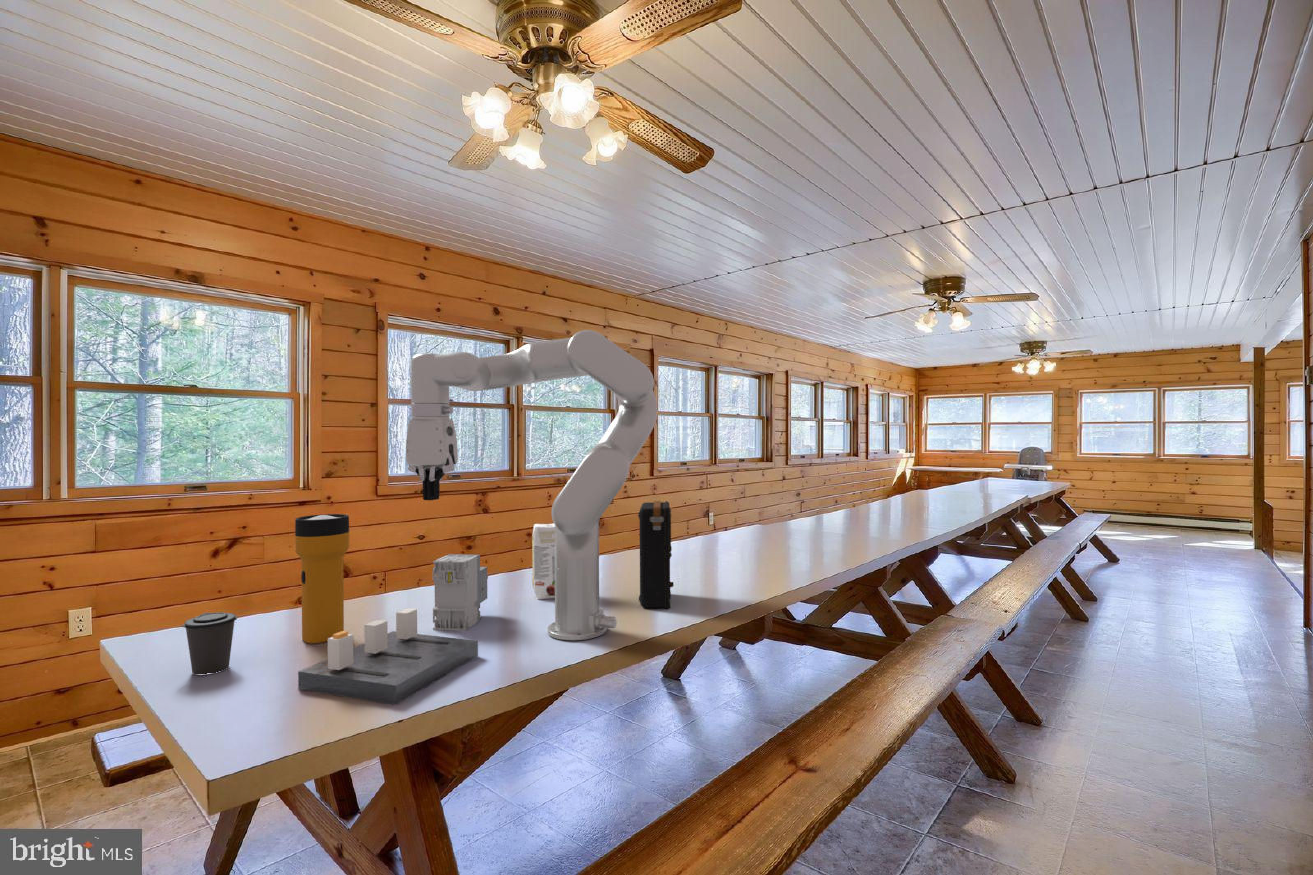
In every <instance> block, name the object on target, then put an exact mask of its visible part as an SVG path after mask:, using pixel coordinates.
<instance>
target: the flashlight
mask: <svg viewBox="0 0 1313 875" xmlns="http://www.w3.org/2000/svg"><path fill="white" fill-rule="evenodd" d="M349 518H350V517H349V514H343V513H332V514H331V513H327V514H314V515H313V514H312V515H305V516H300V517H296V518H295V519H294V524H295V525H294V535H295V536H294V538H295V539H294V540H295V544H294V545H295V548H294V549H295V553H296V555H297V556H298V557H299V558H300V560H301V562H300V563H301V566H300V567H301V573H300V578H301V579H300V581H301V638H302V641H304V642H305V643H307V644H321V643H326V641H327V642H328V638H331V637H333V634H336V633H338V632H341V631H345V628H344V626H345V623H344V622H345V620H344V619H345V616H344V615H345V614H344V613H345V612H344V611H345V607H344V600H345V599H344V598H345V597H344V596H345V595H344V593H345V592H344V588H345V587H344V581H345V580H344V557H345V554H346V553H347V551H348V550H349V548H350V519H349Z"/></svg>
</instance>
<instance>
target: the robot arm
mask: <svg viewBox="0 0 1313 875" xmlns="http://www.w3.org/2000/svg"><path fill="white" fill-rule="evenodd" d="M411 358H412V359H411V362H410V363H411V364H410V370H411V373H410V376H411V377H410V379H411V380H410V383H411V384H410V386H411V388H410V390H411V395H410V396H411V397H410V398H411V403H410V404H411V419H409V421H408V426H407V432H406V441H405V442H406V444H405V460H406V463H407V465H408V467H407V470H408V471H409V472H412V473H415V474H417V476H418V477H419V481H421V482H422V500H423V501H434V500H435V501H436V500H440V494H441V493H440V492H441V491H440V489H441V488H440V481H442V480H443V477H444V475H446V474H448V473H451V472H454V471H455V465H456V464H458V461H459V460H458V459H459V457H458V456H459V454H458V440H457V439H458V438H457V432H456V427H455V423H454V419H451V418H450V414H453V413H454V408H453V407H452V406H450V387H453V388H454V387H455V388H458V389H464V390H466V391H469V392H481V391H488V390H497V389H503V388H509V387H517V386H522V385H531V384H535V383H542V382H549V381H555V380H561V379H568V378H570V379H571V378H576V377H585V376H586V377H587V376H589V377H590V378H591V379H593V380H594V381H596V382H597V383H598V384H600V385H602V386H603V387H605V388H606V389H607V390H609V391H611V393H613V394H614V396H615V398H616V399H617V400H618V403H619V404H618V405H619V406H618V411H617V414H616V415H615V417H614V419H612V421H611V422H610V425H608V427H607V429H606V430H605V432H604V433H603V435H602V436H601V438H600V439H599V440H598V442H597V443H596V445H595V446H593V447H592V448H591V449H590V450H589V451H588V452H587V454H585V456H584V458H583V459H582V461H581V462H580V464H579V465H578V467H577V468H576V470H575V471H574V472H573V474H572V475H571V477H570V478H569V479H568V481H567V482H566V484H565V486H564V487H563V488H562V490H561V491H560V492H559V493H558V494H557V496H556V497H555V499H554V501H553V503H552V506H551V520H552V522H553V523H554V524H555V598H554V622H552V623H551V624H549V625H548V626H547V634H548V635H549V636H550V637H552V638H554V639H557V640H561V641H562V640H563V641H583V640H590V639H591V640H592V639H594V638H595V639H596V638H597V637H600V636H602V635H604V634H606V632H607V630H608V629H616V628H617V623H618V622H617V621H618V620H617V619H616V616H613V615H612V616H611V615H606V614H605V613H604V612H605V611H604V608H600V518H601V517H602V516H603V514H604V513H605V511H606V510H607V508H609V506H610V504H611V503H612V501H614V499H615V497H616V496H617V494H618V493H619V491H620V490H621V489H622V487H623V486H624V484H625V483H626V480H627V479H628V476H629V473H630V472H629V471H630V466H631V464H632V463H633V461H634V460H635V458H636V457H637V455H638V454H639V452H640V451H641V450H642V448H643V446H644V445H645V443H646V441H647V440H648V438H649V436H650V435H651V433H652V431H653V429H654V427H655V424H656V421H657V415H658V403H657V398H656V395H655V392H654V386H655V380H654V375H653V373H652V372H651V370H650V368H649V367H648V366H647V365H646V364H644V363H643V362H642V361H640V359H637V358H636V357H634V356H633V355H631V354H630V353H629V352H627V351H626V350H624V349H623V348H622V347H620V346H619V345H617V344H616V343H614V342H613V341H612V340H610V339H608V338H607V337H605V336H604V335H603V334H602V333H600V332H598V331H595V330H591V329H585V330H580V331H578V332H576V333H575V334H573V335H572V337H566V338H565V337H564V338H559V339H549V340H542V341H534V342H530V343H526V344H524V345H523V346H521V347H519V348H518V349H516V350H514V351H511V352H508V353H503V354H497V355H489V356H481V357H478V356H476V354H474V353H470V352H467V351H459V352H451V353H445V354H439V353H418V354H415V355H413V356H412V357H411Z"/></svg>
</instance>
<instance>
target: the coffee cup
mask: <svg viewBox="0 0 1313 875" xmlns="http://www.w3.org/2000/svg"><path fill="white" fill-rule="evenodd" d="M237 619H238V616H237V615H236V614H235V613H231V612H223V611H221V612H205V613H202V614H200V615H198V616H195V617H192V618H190V619H187V620H185V621H184V623H183V624H182V627H183V628H184V629H185V631H186V632H185V633H186V637H187V644H188V651H189V653H188V654H189V658H190V659H189V660H190V665H191V671H192V674H193V673H194V674H207V673H215V674H217V673H216V672H218V673H220V672H219V671H222V670H224V669H226V668H227V669H229V666H230V661H231V652H232V645H233V637H234V627H235V622H236V620H237ZM227 669H226V670H227ZM224 671H225V670H224ZM222 672H223V671H222Z"/></svg>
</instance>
